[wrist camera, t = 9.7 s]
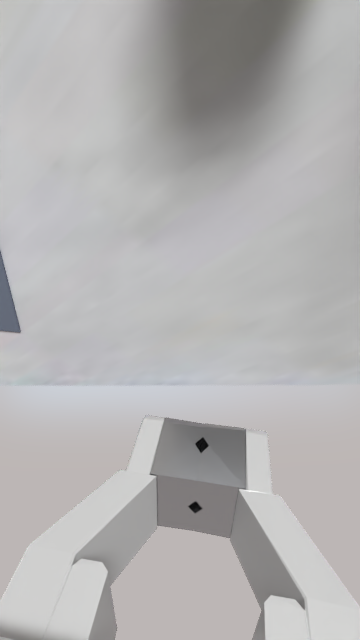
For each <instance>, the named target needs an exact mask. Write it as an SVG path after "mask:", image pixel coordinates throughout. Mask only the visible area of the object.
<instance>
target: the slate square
mask: <svg viewBox="0 0 360 640" xmlns="http://www.w3.org/2000/svg"><path fill="white" fill-rule="evenodd" d="M0 330H3V331H13V332H21V331H20V327H19V323H18V319H17V315H16V311H15V307H14V303H13V299H12V295H11V291H10V287H9V284H8V280H7V276H6V272H5V268H4V264H3V260H2V256H1V252H0Z"/></svg>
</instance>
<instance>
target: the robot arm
mask: <svg viewBox="0 0 360 640" xmlns="http://www.w3.org/2000/svg"><path fill="white" fill-rule="evenodd" d="M157 526H165V527H171V528H178V529H185V530H192V531H197V532H202V533H207V534H212V535H217V536H222V537H227V538H230V541H231V543H232V546H233V548H234V550H235V552H236V555H237V556H238V559H239V561H240V563H241V566H242V568H243V570H244V572H245V574H246V577H247V579H248V581H249V583H250V586H251V588H252V590H253V592H254V594H255V597H256V599H257V601H258V603H259V606H260V608H261V610H262V611H261V614H260V617H259V620H258V623H257V626H256V629H255V632H254V636H253V638H252V640H360V607H359V605H358V604H357V603H356V601H355V600H354V598H353V597H352V596H351V594H350V593H349V591H348V590H347V589H346V587H345V586H344V584H343V583H342V582H341V580H340V579H339V577H338V576H337V575H336V574H335V572H334V570H333V569H332V568H331V566H330V565H329V563H328V562H327V561H326V559H325V558H324V556H323V555H322V554H321V552H320V551H319V550H318V548H317V547H316V545H315V544H314V542H313V541H312V540H311V538H310V537H309V535H308V534H307V533H306V531H305V530H304V528H303V527H302V526H301V524H300V523H299V521H298V520H297V519H296V517H295V516H294V515H293V513H292V512H291V510H290V509H289V507H288V506H287V505H286V503H285V502H284V500H283V499H282V498H281V496H280V495H276V494H273V489H272V477H271V465H270V453H269V441H268V434H267V432H266V431H260V430H252V429H244V428H238V427H229V426H221V425H214V424H202V423H196V422H190V421H184V420H178V419H171V418H163V417H157V416H150V415H146V416H145V417H144V419H143V421H142V423H141V426H140V429H139V432H138V435H137V438H136V441H135V444H134V447H133V450H132V453H131V456H130V459H129V462H128V465H127V468H126V471H123V470H119V471H118V472H116V473H115V474H114V475H113V476H112V477H110V478H109V479H108V480H107V481H106V482H104V483H103V484H102V485H101V486H100V487H98V488H97V489H96V490H95V491H94V492H93V493H91V494H90V495H89V496H88V497H86V498H85V499H84V500H83V501H81V502H80V503H79V504H78V505H77V506H76V507H74V508H73V509H72V510H71V511H70V512H68V513H67V514H66V515H65V516H63V517H62V518H61V519H60V520H59V521H57V522H56V523H55V524H54V525H53V526H51V527H50V528H49V529H48V530H47V531H46V532H44V533H43V534H42V535H41V536H40V537H38V538H37V539H36V540H35V541H33V542H32V543H31V544H30V545H29V546H28V547H27V549H26V551H25V553H24V555H23V557H22V559H21V561H20V563H19V565H18V567H17V569H16V571H15V573H14V575H13V577H12V579H11V581H10V583H9V585H8V587H7V589H6V591H5V593H4V595H3V597H2V599H1V600H0V640H115V636H116V631H117V625H116V619H115V614H114V607H113V601H112V595H111V588H110V586H111V585H112V583H113V582H114V581H115V580H116V578H117V577H118V576H119V575H120V574H121V572H122V571H123V570H124V569H125V567H126V566H127V565H128V564H129V562H130V561H131V560H132V559H133V557H134V556H135V555H136V554H137V553H138V551H139V550H140V549H141V548H142V546H143V545H144V544H145V543H146V541H147V540H148V539H149V538H150V537H151V535H152V534H153V533H154V532H155V530H156V529H157Z"/></svg>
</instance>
